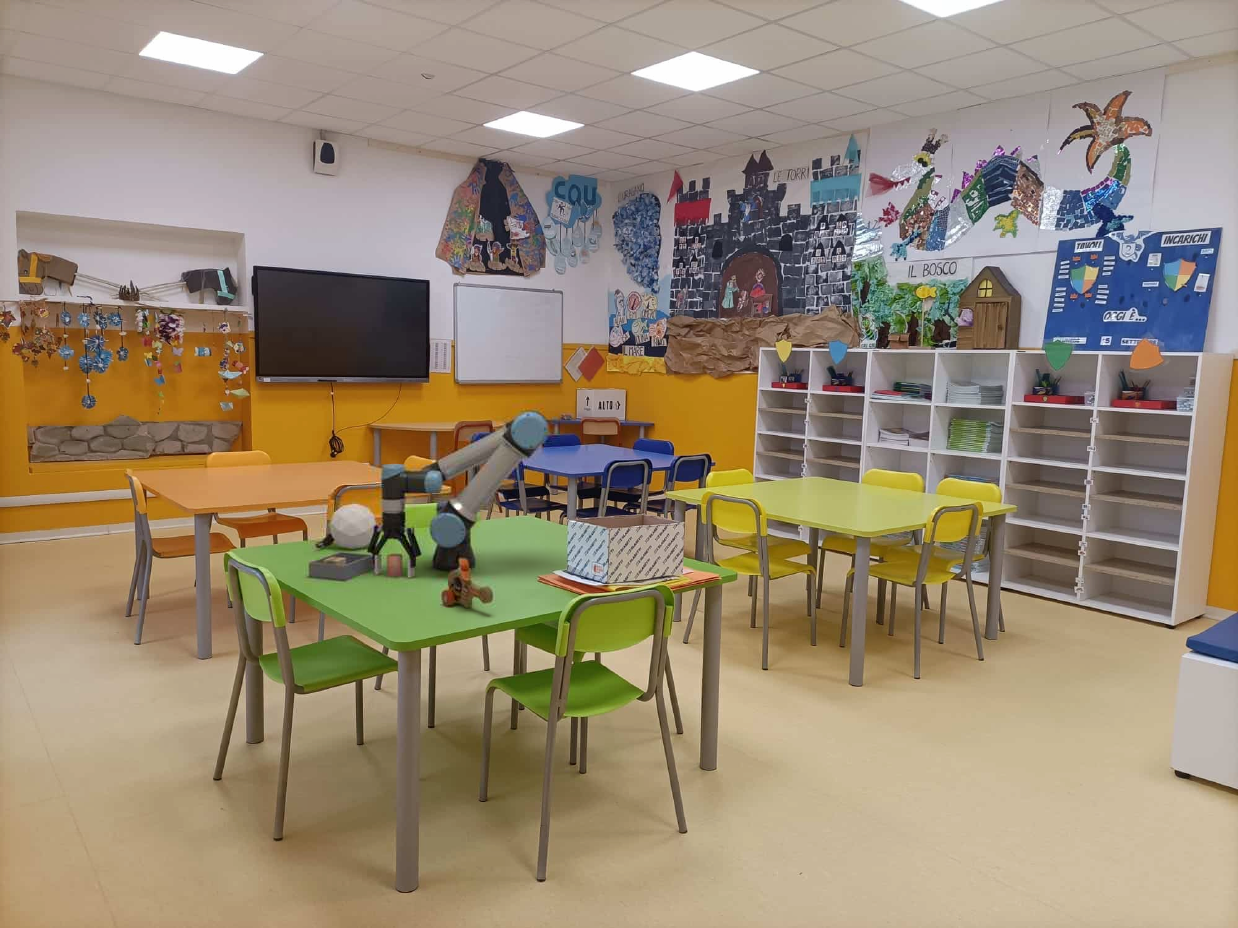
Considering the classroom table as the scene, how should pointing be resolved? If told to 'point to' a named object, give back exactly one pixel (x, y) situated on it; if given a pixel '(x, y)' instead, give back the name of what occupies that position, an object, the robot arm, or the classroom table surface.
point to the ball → (350, 527)
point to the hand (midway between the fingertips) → (394, 575)
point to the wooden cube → (335, 561)
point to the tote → (342, 567)
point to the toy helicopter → (464, 587)
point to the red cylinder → (394, 565)
